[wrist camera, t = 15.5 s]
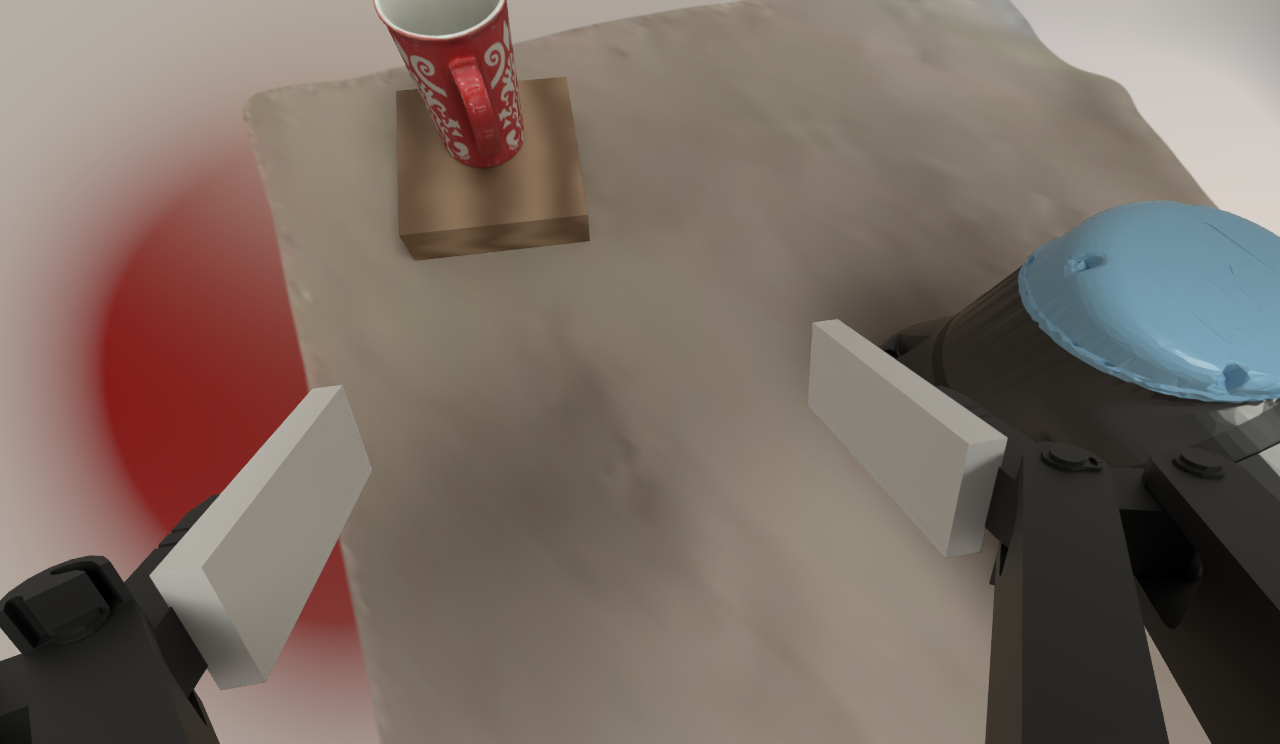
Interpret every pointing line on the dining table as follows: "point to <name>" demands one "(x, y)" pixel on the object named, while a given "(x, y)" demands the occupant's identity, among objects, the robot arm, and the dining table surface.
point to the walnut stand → (491, 182)
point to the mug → (462, 73)
